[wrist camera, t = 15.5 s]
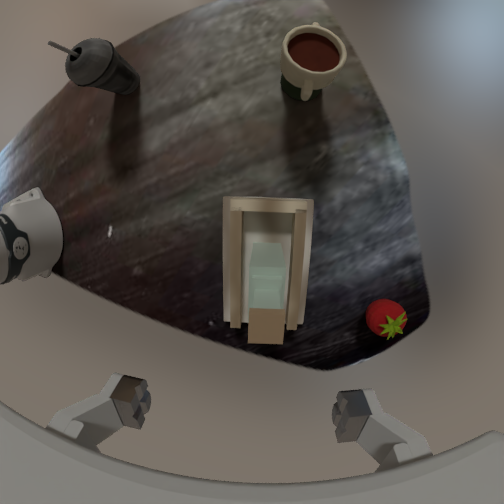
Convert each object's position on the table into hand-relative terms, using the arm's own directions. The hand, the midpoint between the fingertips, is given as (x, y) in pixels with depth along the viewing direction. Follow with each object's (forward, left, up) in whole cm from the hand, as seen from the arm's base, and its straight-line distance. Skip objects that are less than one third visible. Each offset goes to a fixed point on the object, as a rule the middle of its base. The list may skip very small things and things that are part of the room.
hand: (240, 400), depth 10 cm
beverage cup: (-22, +25, -33) cm, 47 cm away
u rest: (+1, -5, -33) cm, 33 cm away
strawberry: (+21, -12, -33) cm, 41 cm away
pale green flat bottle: (+1, -5, -31) cm, 32 cm away
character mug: (+6, +23, -33) cm, 41 cm away
